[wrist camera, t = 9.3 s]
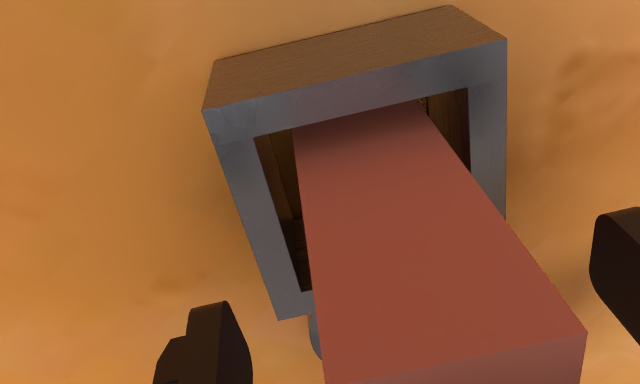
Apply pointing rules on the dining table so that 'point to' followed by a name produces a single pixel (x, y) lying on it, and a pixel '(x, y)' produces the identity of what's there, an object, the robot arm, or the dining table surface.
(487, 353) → the red rectangular block
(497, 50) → the grey stand
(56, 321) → the dining table surface
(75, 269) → the dining table surface
